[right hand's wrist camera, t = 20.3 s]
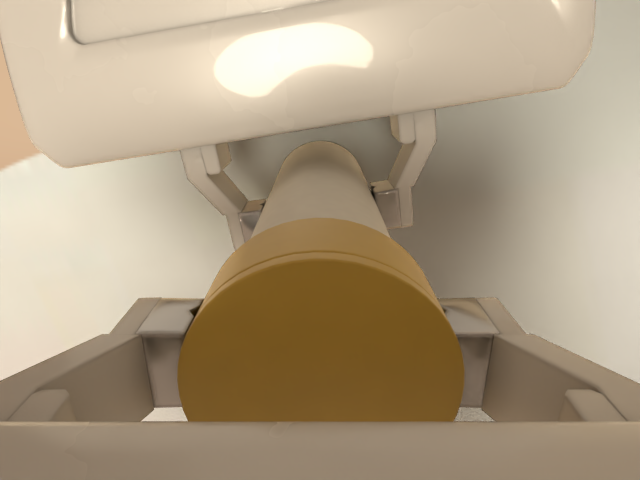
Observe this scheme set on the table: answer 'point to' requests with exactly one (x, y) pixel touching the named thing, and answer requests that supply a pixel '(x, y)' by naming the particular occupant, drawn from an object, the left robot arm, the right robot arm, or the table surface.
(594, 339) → the table surface
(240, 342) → the lid
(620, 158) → the table surface
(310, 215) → the jar
